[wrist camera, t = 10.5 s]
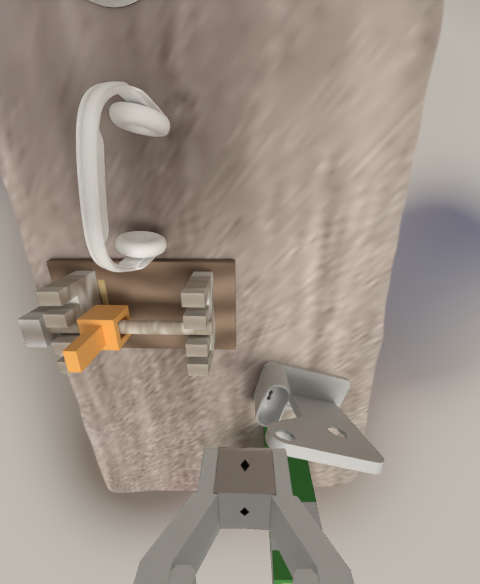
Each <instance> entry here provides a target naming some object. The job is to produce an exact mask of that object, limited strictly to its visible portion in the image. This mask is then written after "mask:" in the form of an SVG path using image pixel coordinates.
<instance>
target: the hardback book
mask: <svg viewBox="0 0 480 584" xmlns="http://www.w3.org/2000/svg"><path fill="white" fill-rule="evenodd" d="M266 431H267V427H265V426H264V439H265V435H266ZM281 439H283V438H281ZM284 440H285V439H284ZM286 441H287V440H286ZM265 448H270V447H269V446H268V445H267V443H266V439H265ZM287 459H288V466H289V473H290V479H291V486H292V493H293V496H297V497H298V498H299V499H300V501H301V502H302V504H303V505H304V506H305V508H306V509H307V510H308V512H309V513H310V515H311V516H312V517H313V519H314V520H315V522H316V523H317V524H318V526H319V527H320V528H321V530H322V527H321V522H320V517H319V512H318V508H317V503H316V498H315V494H314V489H313V484H312V480H311V475H310V470H309V466H308V461H307V460H303V459H298V458H294V457H289V456H287ZM269 535H270V551H271V568H272V583H273V584H292V582H293V577H292V575H291V573H290V571H289V569H288V567H287V565H286V563H285V561H284V560H283V558H282V556H281V554H280V552H279V550H278V548H277V546H276V544H275V542H274V540H273V538H272V536H271V534H270V532H269Z"/></svg>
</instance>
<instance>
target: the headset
mask: <svg viewBox="0 0 480 584" xmlns="http://www.w3.org/2000/svg"><path fill="white" fill-rule="evenodd" d="M116 94H118V95H119V96H120V97H122V98H123V99H124V100H125V101H126V102H115V103H113V104H112V105H111V106H110V109H109V115H110V119H111V121H112V122H113V123H114V124H115V125H116V126H118V127H120V128H122V129H124V130H127V131H130V132H133V133H136V134H141V135H146V136H152V137H163V136H166V135H167V134H168V133H169V130H170V122H169V120H168V118H167V117H166V116H165V115H164V114H163V112H162V111H161V109H160V108H159V107H158V106H157V105H156V104H155V103H154V102H153V100H152V99H151V98H150V97H149V96H148V95H147V94H146V93H145V92H144V91H142V90H141V89H138V88H136V87H133V86H129V85H128V84H127V83H125V82H118V81H112V82H105V83H99V84H96V85H94V86H92V87H91V88H89V89H88V90H87V91H86V93H85V94H84V96H83V97H82V100H81V102H80V105H79V109H78V114H77V123H76V159H77V174H78V186H79V197H80V207H81V216H82V223H83V230H84V235H85V240H86V244H87V247H88V250H89V253H90V255H91V257H92V259H93V260H94V262H95V263H96V264H97V265H99V266H100V267H102V268H105V269H107V270H109V271H112V272H128V271H135V270H140V269H143V268H145V267H146V266H147V265H148V264H149V263H150V262H151V261H152V260H153V259H154V258H155V257H156V256H158V255H160V254H162V253H163V252H164V251H165V249H166V246H167V244H166V240H165V238H164V237H163V236H161V235H160V234H157V233H154V232H148V231H131V232H126V233H123V234H121V235H119V236H118V237H117V238H116V240H115V247H116V249H117V251H118V252H119V253H121V254H122V255H125V256H127V257H125V258H124V259H123V260H122V261H120V263H119V265H118V264H116V263H115V262H113V261H112V260H111V258H110V257H109V255H108V252H107V249H106V242H107V240H108V235H109V225H108V212H107V199H106V183H105V157H104V143H103V138H102V135H101V133H100V131H99V124H100V117H101V113H102V109H103V107H104V105H105V103H106V102H107V101H108V99H109V98H111V97H112V96H114V95H116Z"/></svg>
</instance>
